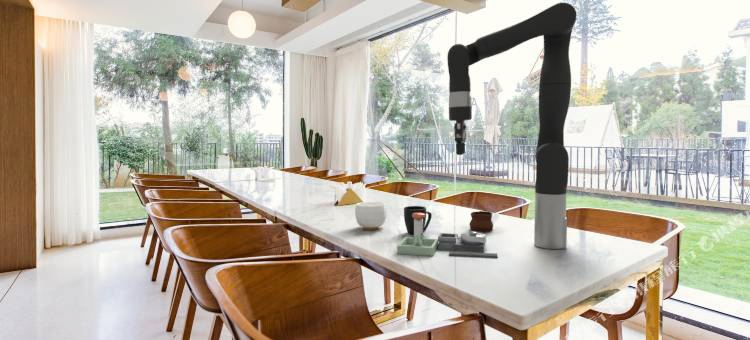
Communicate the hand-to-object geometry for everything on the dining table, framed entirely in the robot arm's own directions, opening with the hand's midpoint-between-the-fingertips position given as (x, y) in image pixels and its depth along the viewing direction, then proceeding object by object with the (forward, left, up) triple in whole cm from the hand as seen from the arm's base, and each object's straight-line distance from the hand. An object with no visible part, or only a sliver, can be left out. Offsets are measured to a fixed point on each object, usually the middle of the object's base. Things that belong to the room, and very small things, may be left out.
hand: (460, 154), depth 140 cm
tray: (+12, +16, -30) cm, 36 cm away
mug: (+16, -5, -30) cm, 34 cm away
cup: (+36, -10, -30) cm, 48 cm away
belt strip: (-5, +18, -30) cm, 35 cm away
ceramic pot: (-6, -17, -30) cm, 35 cm away
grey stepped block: (-1, +9, -30) cm, 31 cm away
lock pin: (+12, +16, -29) cm, 35 cm away
